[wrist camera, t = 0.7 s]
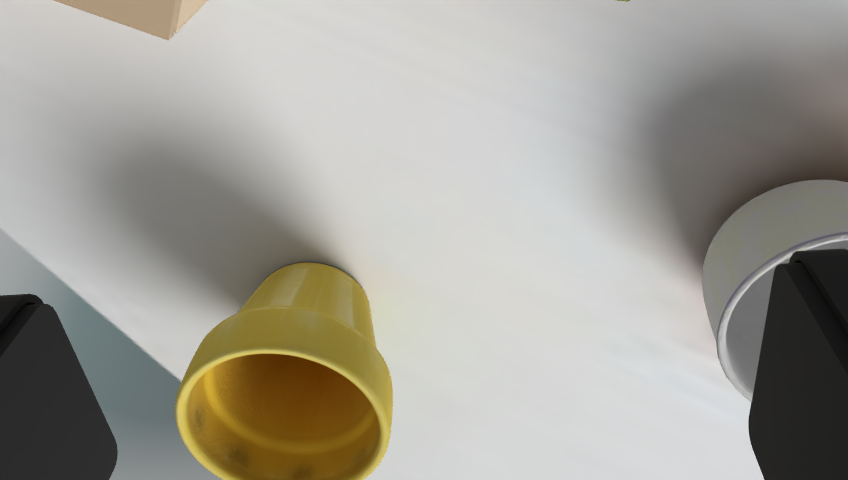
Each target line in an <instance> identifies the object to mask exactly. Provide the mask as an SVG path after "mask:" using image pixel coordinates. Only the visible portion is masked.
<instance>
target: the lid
mask: <svg viewBox="0 0 848 480" xmlns="http://www.w3.org/2000/svg"><path fill="white" fill-rule="evenodd" d="M54 1H57V2H60V3H63V4H65V5H68V6H71V7H74V8H77V9H80V10H83V11H86V12H89V13H91V14H94V15H97V16H100V17H103V18H106V19H109V20H112V21H114V22H117V23H120V24H123V25H126V26H129V27H132V28H135V29H137V30H140V31H143V32H146V33H149V34H152V35H155V36H158V37H160V38H163V39H166V40H169V39H170V38H171V37H172V36H173V35H174V30H175V24H176V19H177V13H178V8H179V2H180V0H54Z"/></svg>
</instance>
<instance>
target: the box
mask: <svg viewBox="0 0 848 480" xmlns="http://www.w3.org/2000/svg"><path fill="white" fill-rule="evenodd" d="M207 1H208V0H180V2H179V8H178V13H177V19H176V24H175V30H174V32H175V33H176V32H177V31H178V30H179V29H180V28H181V27H182V26H183V25H184V24H185V23H186V22H187V21H188V20H189V19H190V18H191V17H192V16H193V15H194V14H195V13H196V12H197V11H198V10H199V9H200V8H201V7H202V6H203V5H204V4H205V3H206V2H207Z"/></svg>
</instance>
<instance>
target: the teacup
mask: <svg viewBox="0 0 848 480" xmlns="http://www.w3.org/2000/svg"><path fill="white" fill-rule="evenodd" d="M842 248H843V249H847V250H848V182H844V181H838V180H807V181H799V182H795V183H790V184H786V185H783V186H780V187H777V188H774V189H772V190H769V191H767V192H765V193H763V194H761V195H759V196H757V197H755V198H753V199H752V200H750V201H749V202H747V203H746V204H744V205H743V206H742V207H740V208H739V209H738V210H737V211H735V212H734V213H733V214H732V215H731V216H730V217H729V218H728V219H727V220H726V221H725V223H724V224H723V225H722V226H721V228H720V229H719V230H718V232H717V233H716V235H715V236H714V238H713V240H712V242H711V244H710V246H709V248H708V251H707V254H706V257H705V260H704V266H703V273H702V287H703V296H704V302H705V306H706V310H707V314H708V318H709V321H710V324H711V328H712V331H713V334H714V337H715V339H716V344H717V354H718V358H719V361H720V364H721V366H722V369H723V371H724V373H725V375H726V377H727V378H728V379H729V380H730V382H731V383H732V384H733V385H734V387H735V388H736V389H737V390H738V391H739V392H740V393H741V394H742V395H743V396H744V397H745V398H747V399H748V400H749V401H751V402H752V397H753V391H754V385H755V379H756V374H757V368H758V362H759V356H760V350H761V344H762V339H763V333H764V327H765V321H766V315H767V310H768V304H769V298H770V292H771V286H772V280H773V275H774V271H775V268H776V266H777V265H779V264H786V263H789V260H790V257H791V256H792V254H793V253H794V252H796V251H806V250H824V249H842Z"/></svg>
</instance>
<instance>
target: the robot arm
mask: <svg viewBox="0 0 848 480" xmlns="http://www.w3.org/2000/svg"><path fill="white" fill-rule="evenodd" d="M749 436H750V441H751V445H752V448H753V451H754V454H755V456H756V459H757V461H758V464H759V466H760V469H761V472H762V474H763V477H764V479H765V480H848V250H847V249H843V248H842V249H824V250H806V251H796V252H794V253H793V254H792V256H791V257H790V260H789V263H786V264H779V265H777V266H776V268H775V271H774V275H773V280H772V286H771V292H770V298H769V304H768V310H767V315H766V321H765V327H764V333H763V339H762V344H761V350H760V356H759V362H758V368H757V374H756V379H755V385H754V391H753V397H752V403H751V409H750V414H749ZM116 461H117V444H116V441H115V438H114V436H113V434H112V432H111V429H110V427H109V425H108V423H107V421H106V419H105V417H104V414H103V413H102V410H101V408H100V406H99V404H98V401H97V400H96V397H95V395H94V393H93V391H92V389H91V386H90V384H89V382H88V380H87V378H86V376H85V374H84V371H83V369H82V367H81V365H80V363H79V361H78V359H77V356H76V354H75V352H74V350H73V348H72V346H71V343H70V341H69V339H68V337H67V335H66V333H65V330H64V328H63V326H62V324H61V322H60V320H59V318H58V315H57V313H56V312H55V310H54V309H53V307H51V306H50V305H48V304H44V303H43V302H42V300H41V299H40V298H39V297H37V296H36V295H32V294H21V295H3V296H0V480H109V478H110V476H111V474H112V472H113V470H114V468H115V465H116Z"/></svg>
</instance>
